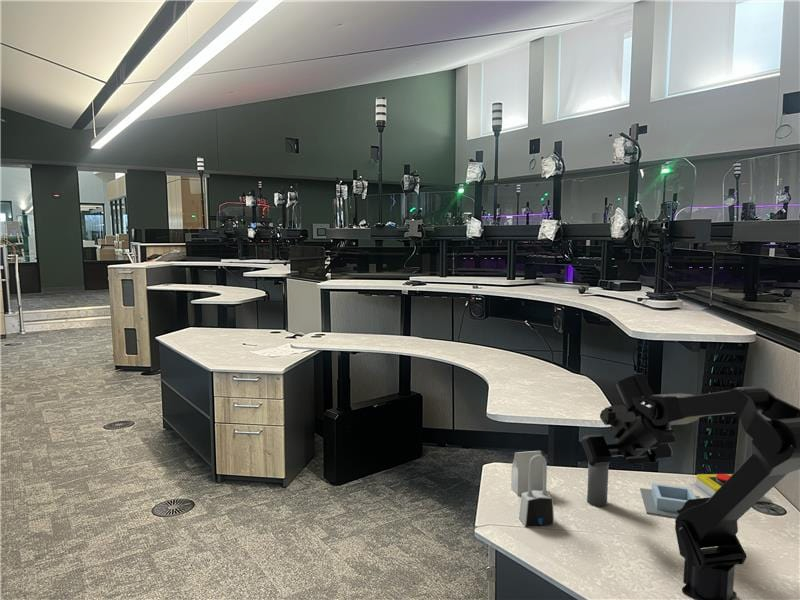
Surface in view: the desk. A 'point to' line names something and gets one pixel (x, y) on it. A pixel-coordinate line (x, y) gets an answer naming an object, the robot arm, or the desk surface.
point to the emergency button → (713, 484)
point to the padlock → (536, 502)
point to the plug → (597, 485)
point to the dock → (666, 499)
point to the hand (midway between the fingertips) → (609, 463)
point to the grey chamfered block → (526, 472)
